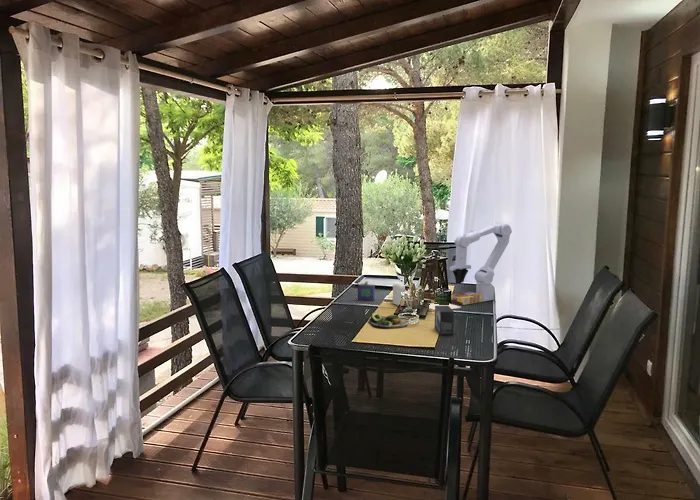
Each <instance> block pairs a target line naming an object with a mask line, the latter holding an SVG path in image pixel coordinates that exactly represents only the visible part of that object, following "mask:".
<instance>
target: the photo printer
mask: <svg viewBox="0 0 700 500" xmlns="http://www.w3.org/2000/svg"><path fill="white" fill-rule="evenodd" d="M404 284H405V283H404V282H402V281H396V282H394V283H393V284H392V304H394V305H396V306H399V304H400V301H401V292H402V291H403V290H405V286H407V285H406V284H405V285H404ZM399 307H400V306H399Z"/></svg>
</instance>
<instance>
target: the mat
mask: <svg viewBox="0 0 700 500" xmlns="http://www.w3.org/2000/svg"><path fill="white" fill-rule="evenodd" d="M434 303H435V302H430V303H429V304H430V305H429V310H431V309H432V310H433V311H435V306H447V305H439V304H434ZM448 306H449V307H450V308H451V309H452V310H456V309H461V308H462V306H459V305H456V304H452V303H449V305H448ZM432 310H431V311H432Z"/></svg>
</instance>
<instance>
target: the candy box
mask: <svg viewBox="0 0 700 500" xmlns="http://www.w3.org/2000/svg"><path fill="white" fill-rule="evenodd" d="M450 297H451V299H450V302H451V303H454V304H458V305H462V306H465V305H469V304H470V305H471V304H478V303H482V302H483V301H482V295H481V294H477V293H476V292H472V291H466V292H460V293H455V294H451V296H450Z"/></svg>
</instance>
